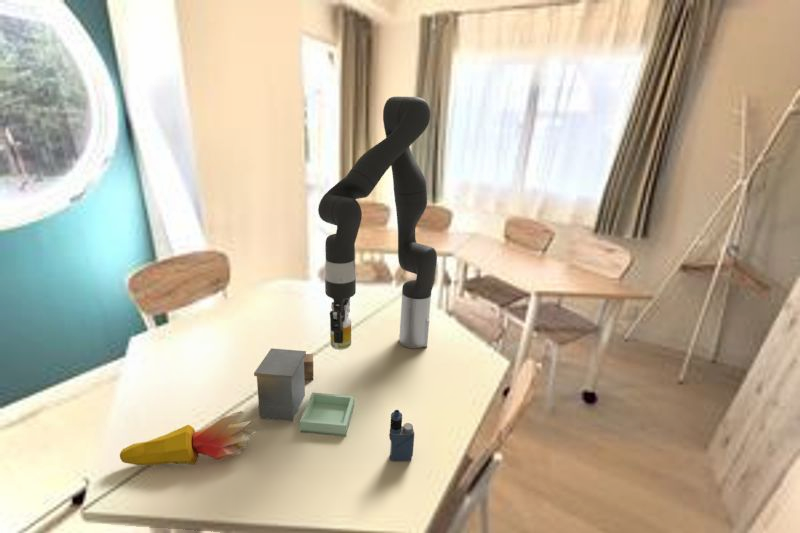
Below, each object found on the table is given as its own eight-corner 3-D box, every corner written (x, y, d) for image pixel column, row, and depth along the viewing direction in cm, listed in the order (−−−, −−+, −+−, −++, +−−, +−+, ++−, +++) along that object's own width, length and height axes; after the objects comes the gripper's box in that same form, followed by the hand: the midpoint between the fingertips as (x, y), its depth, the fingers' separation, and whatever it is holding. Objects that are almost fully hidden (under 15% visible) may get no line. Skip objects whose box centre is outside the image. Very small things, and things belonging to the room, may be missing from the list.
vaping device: (387, 453, 89) (390, 407, 85) (411, 452, 90) (415, 406, 86) (388, 462, 87) (391, 415, 83) (413, 461, 87) (416, 415, 83)
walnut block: (313, 372, 116) (313, 353, 114) (313, 380, 113) (313, 361, 111) (298, 373, 116) (298, 354, 114) (298, 381, 112) (297, 362, 110)
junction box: (306, 394, 107) (305, 351, 103) (294, 422, 97) (292, 376, 92) (273, 391, 107) (271, 348, 103) (257, 419, 97) (253, 372, 93)
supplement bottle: (354, 342, 110) (354, 309, 106) (345, 352, 105) (345, 318, 101) (336, 338, 111) (336, 305, 108) (326, 347, 106) (326, 314, 103)
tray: (354, 406, 103) (354, 396, 102) (346, 436, 93) (346, 425, 92) (312, 402, 104) (312, 392, 103) (300, 432, 94) (299, 421, 93)
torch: (132, 477, 84) (259, 442, 91) (116, 492, 77) (255, 453, 83) (126, 437, 85) (252, 405, 92) (109, 447, 77) (248, 412, 84)
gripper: (350, 288, 94) (350, 352, 100) (360, 267, 108) (359, 324, 114) (318, 286, 95) (319, 350, 101) (331, 265, 108) (332, 322, 114)
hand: (341, 336), depth 107 cm, fingers closed on supplement bottle, 5 cm apart
